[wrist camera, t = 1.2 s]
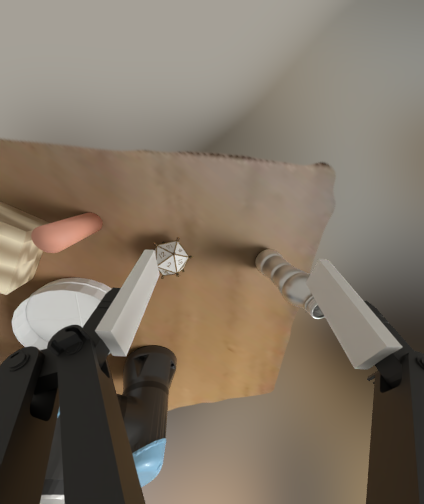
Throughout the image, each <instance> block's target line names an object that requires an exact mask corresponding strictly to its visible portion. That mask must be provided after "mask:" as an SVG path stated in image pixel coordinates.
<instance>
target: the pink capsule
mask: <svg viewBox="0 0 424 504" xmlns="http://www.w3.org/2000/svg"><path fill="white" fill-rule="evenodd" d="M102 225H103V223H102V220H101V218H100V217H99V216H98V215H96V214H94V213H90V212H89V213H84V214H81V215H77V216H74V217H70V218H67V219H63V220H60V221H56V222H53V223H49V224H46V225H42V226H39V227H36V228H35V229H34V230H33V231H32V234H31V238H32V241H33V243H34V244H35V245H36V246H37V247H38V248H39V249H41V250H42V251H45V252H48V253H57V252H60V251H62V250H63V249H65V248H67V247H69V246H71V245H73V244H75V243H76V242H78V241H80V240H82V239H84V238H86V237H88V236H90V235H91V234H93V233H95V232H97V231H99V230H100V229H101V228H102Z"/></svg>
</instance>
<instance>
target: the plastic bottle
mask: <svg viewBox="0 0 424 504" xmlns="http://www.w3.org/2000/svg"><path fill="white" fill-rule="evenodd" d="M255 264H256V267H257V269H258V271H259V272H260V273H262V274H263V275H265V276H267V277H268V278H269V279H270V280H271V281H272V282H273V283H274V284H275V285H276V287H277V288H278V289H279V291H280V292H281V294H282V296H283V297H284V298H285V300H286V301H287V302H288V303H290V304H292V305H294V306H298V307H304V309H305V311H306V312H308V313H309V314H310V315H311V316H312V317H313V318H315V319H321V318H324V317H325V316H324V314H323V313H322V311H321V309H320V307H319V306H318V304H317V302H316V300H315V299H314V297H313V295H312V293H311V292H310V290H309V288H308V286H307V285H306V281H307V279H308V278H309V276H310V274H308V273H306V272H304V271H302V270H299V269H297V268H296V267H294V266H292V265H291V264H289V263H288V262H287V261H286V260H285V259H284V258H283V257H282V255H281V254H280V253H279V252H277V251H275V250H272V249H267V250H264V251H262V252H260V253H259V254H258V256H257V258H256V261H255Z"/></svg>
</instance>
